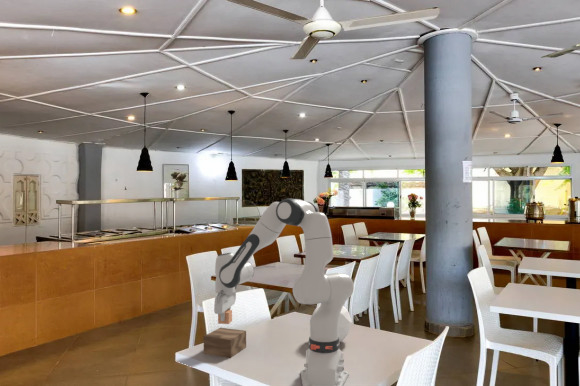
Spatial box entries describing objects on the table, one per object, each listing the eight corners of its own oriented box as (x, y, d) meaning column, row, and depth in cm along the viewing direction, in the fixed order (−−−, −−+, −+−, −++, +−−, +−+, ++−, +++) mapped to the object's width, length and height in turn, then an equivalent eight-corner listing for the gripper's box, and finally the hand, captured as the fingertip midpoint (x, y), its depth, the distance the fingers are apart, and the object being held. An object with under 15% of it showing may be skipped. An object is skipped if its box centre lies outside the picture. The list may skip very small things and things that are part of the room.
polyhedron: (337, 352, 211) (357, 317, 216) (337, 351, 193) (360, 312, 198) (304, 330, 216) (325, 296, 222) (302, 327, 198) (324, 290, 203)
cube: (228, 324, 194) (228, 312, 194) (218, 323, 194) (218, 312, 194) (232, 320, 198) (232, 310, 199) (221, 320, 199) (221, 309, 199)
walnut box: (230, 358, 187) (230, 339, 187) (203, 354, 192) (203, 336, 192) (246, 348, 200) (246, 330, 200) (220, 344, 205) (220, 327, 205)
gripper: (224, 293, 186) (224, 325, 186) (238, 284, 206) (238, 313, 206) (210, 293, 187) (210, 325, 187) (225, 283, 207) (225, 312, 207)
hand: (225, 318), depth 196 cm, fingers closed on cube, 5 cm apart
